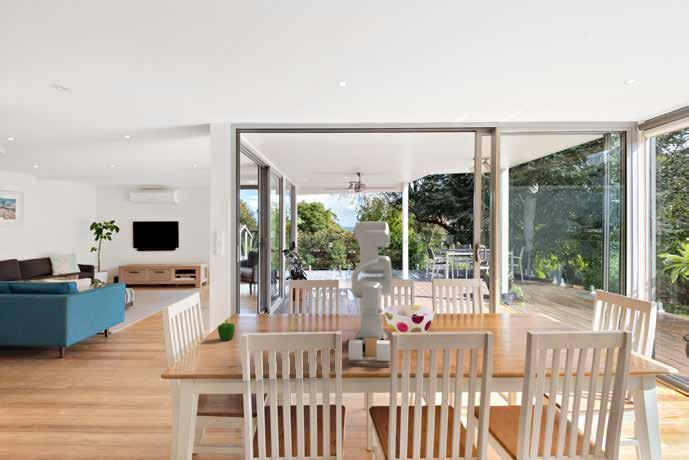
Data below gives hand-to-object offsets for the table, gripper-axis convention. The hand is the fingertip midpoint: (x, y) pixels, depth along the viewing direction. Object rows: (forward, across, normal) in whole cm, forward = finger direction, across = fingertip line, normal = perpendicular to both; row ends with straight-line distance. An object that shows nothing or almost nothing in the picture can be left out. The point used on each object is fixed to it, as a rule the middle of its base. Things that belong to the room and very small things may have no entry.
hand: (371, 352), depth 190 cm
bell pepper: (+1, +76, -18) cm, 78 cm away
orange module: (+1, 0, 0) cm, 1 cm away
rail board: (+1, 0, +11) cm, 11 cm away
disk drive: (+2, +6, -11) cm, 13 cm away
